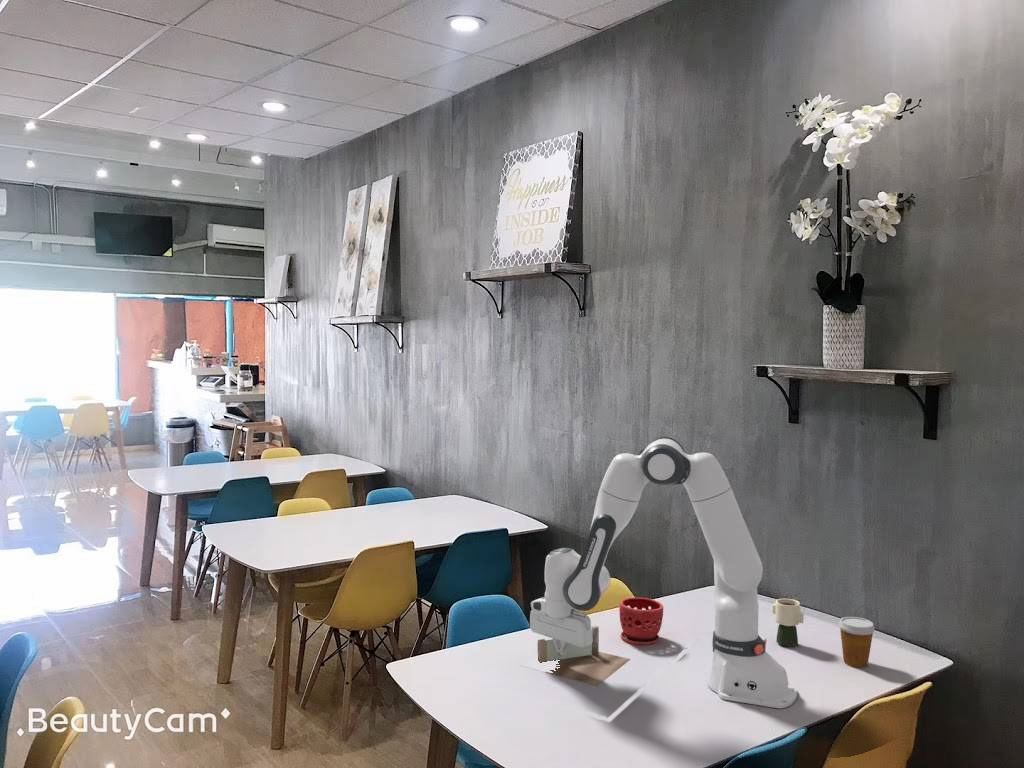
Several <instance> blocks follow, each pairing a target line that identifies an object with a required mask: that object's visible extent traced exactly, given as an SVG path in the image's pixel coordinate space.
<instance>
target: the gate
mask: <svg viewBox="0 0 1024 768" xmlns="http://www.w3.org/2000/svg"><path fill="white" fill-rule="evenodd" d="M537 654H538V661H539V662H540V663H542V662H547V661H553V660H560V659H567V658H573V657H580V656H587V655H592V644H591V645H590V646H588V647H586V648H581V647H578V646H575V645H572V644H568V646H567V648H566V654H565V655H564V656H560V655H557V654H556V647H555V645H554V643H553V638H550V639H545V638H542V639H537Z"/></svg>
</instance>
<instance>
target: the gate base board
mask: <svg viewBox="0 0 1024 768" xmlns="http://www.w3.org/2000/svg"><path fill="white" fill-rule="evenodd" d="M591 629H592V638H593V642H592V655H587V656H580V657H573V658H567V659H560V661H558V663H559V664H556V665H560V666H556V667H560V668H558V669H557V668H555V670H556V671H554V670H550V671H552V672H553V673H548V672H545V674H550V675H553V676H557V677H561V678H564V679H569V680H571V681H572V680H574V681H577V682H580V683H585V684H589V685H592V686H596V687H598V686H599V685H601V683H603V682H604V681H605V680H606V679H608V678H609V677H611V675H613V674H614V673H615V672H617V671H618V670H619V669H620V668H621V667H623V666H624V665H625V664H627V663H628V662H629V661H630V660H631V658H628V657H624V656H620V655H619V656H618V655H616V654H615V655H614V654H610V653H606V652H602V651H599V650H600V649H599V647H600V646H599V641H600V640H599V639H600V638H599V637H600V636H599V635H600V634H599V632H600V631H599V626H596V625H593V626H591ZM554 661H556V660H554Z"/></svg>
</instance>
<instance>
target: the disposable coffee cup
mask: <svg viewBox="0 0 1024 768" xmlns="http://www.w3.org/2000/svg"><path fill="white" fill-rule="evenodd" d="M838 627H839V629H840V636H841V637H840V639H841V648H842V657H843V659H842V660H843V663H844V664H845V665H847V666H849V667H852V668H860V669H861V668H866V667H868V665H869V659H870V653H871V647H872V641H873V635H874V632H875V629H876V627H875V626H874V623H873V621H871V620H869V619H866V618H863V617H857V616H845V617H841V618H840V620H839V622H838Z"/></svg>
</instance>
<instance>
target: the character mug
mask: <svg viewBox="0 0 1024 768" xmlns="http://www.w3.org/2000/svg"><path fill="white" fill-rule="evenodd" d="M772 614H774V615H775V618H774V619H775V622H776V623H777V624H778V627H777V632H776V638H775V639H776V643H778V645H781V646H790V647H792V646H797V645H799V639H798V631H797V626H798V625H799V624H803V623H804V618H805V617H804V615H805V614H804V612H802V611H801V602H800V601H798V600H797V599H793V598H792V599H791V598H779V599H776V600H775V603H772Z"/></svg>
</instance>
